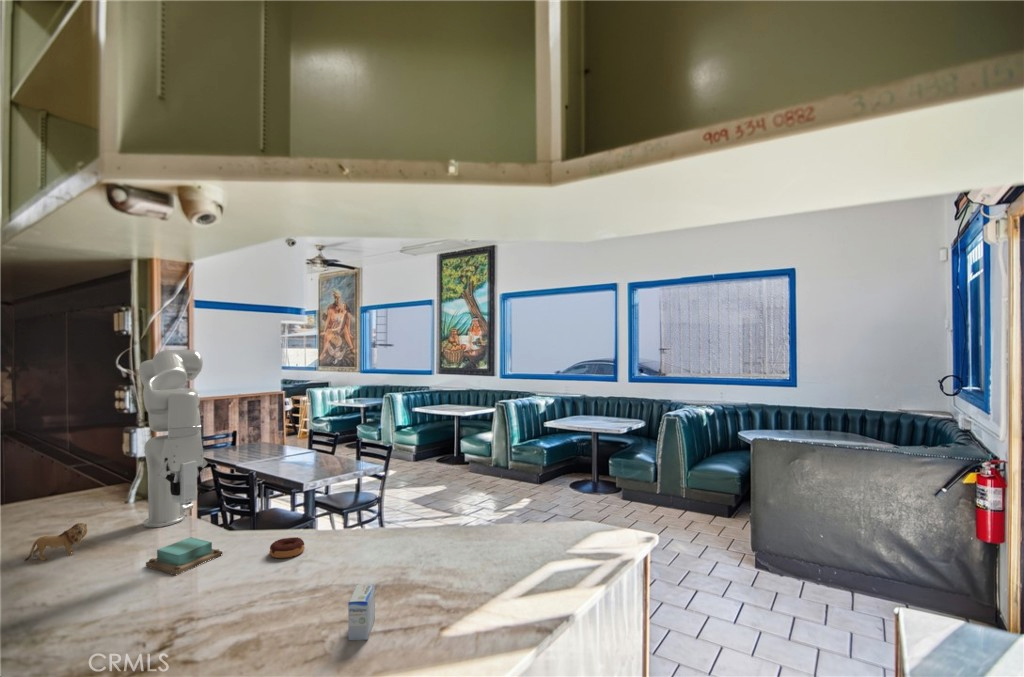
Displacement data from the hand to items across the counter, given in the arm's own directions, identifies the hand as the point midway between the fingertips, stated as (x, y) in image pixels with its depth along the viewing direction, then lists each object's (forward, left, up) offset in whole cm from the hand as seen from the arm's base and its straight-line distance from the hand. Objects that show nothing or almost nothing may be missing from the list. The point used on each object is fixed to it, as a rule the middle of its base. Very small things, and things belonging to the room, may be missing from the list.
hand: (184, 491), depth 150 cm
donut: (-16, +24, -21) cm, 36 cm away
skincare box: (0, 0, -3) cm, 3 cm away
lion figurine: (+13, -41, -21) cm, 48 cm away
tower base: (0, 0, -21) cm, 21 cm away
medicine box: (+7, +74, -21) cm, 77 cm away
